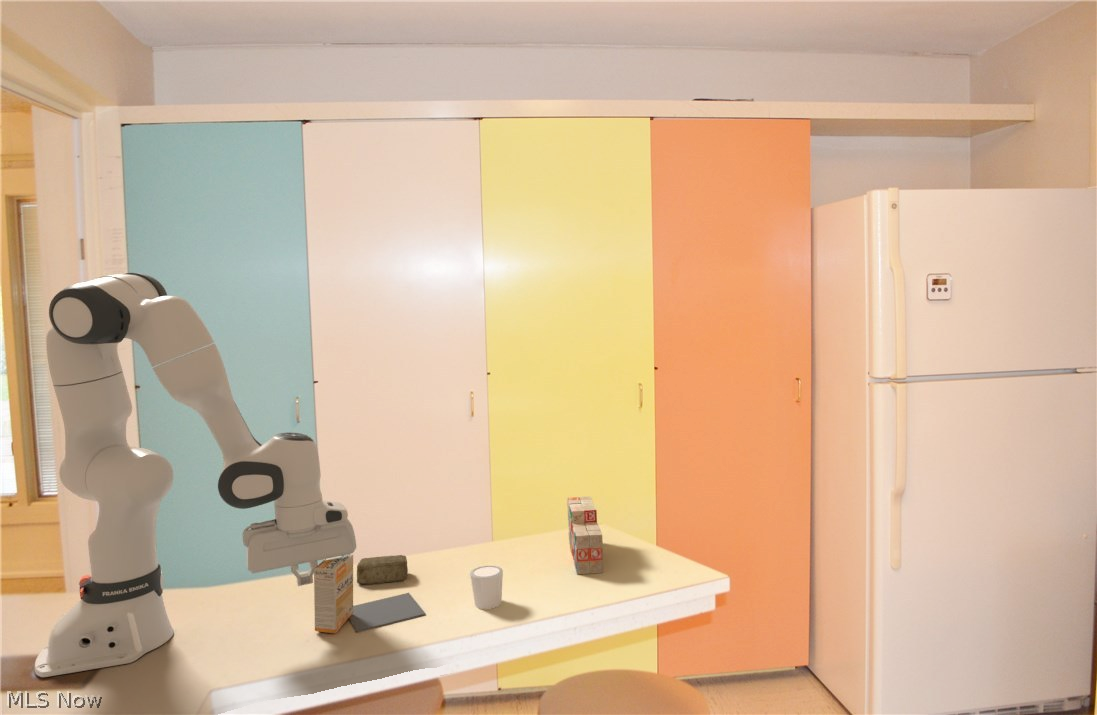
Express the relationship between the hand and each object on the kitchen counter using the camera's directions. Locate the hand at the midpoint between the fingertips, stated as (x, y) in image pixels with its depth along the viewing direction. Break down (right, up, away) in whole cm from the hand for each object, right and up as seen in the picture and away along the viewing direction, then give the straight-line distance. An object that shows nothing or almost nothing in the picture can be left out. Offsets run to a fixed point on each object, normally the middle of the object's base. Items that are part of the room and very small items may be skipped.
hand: (305, 583), depth 137 cm
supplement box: (+5, -9, +3) cm, 11 cm away
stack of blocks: (+57, -5, +34) cm, 66 cm away
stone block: (+9, -8, +26) cm, 28 cm away
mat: (+14, -9, +8) cm, 18 cm away
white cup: (+35, -8, +10) cm, 37 cm away
